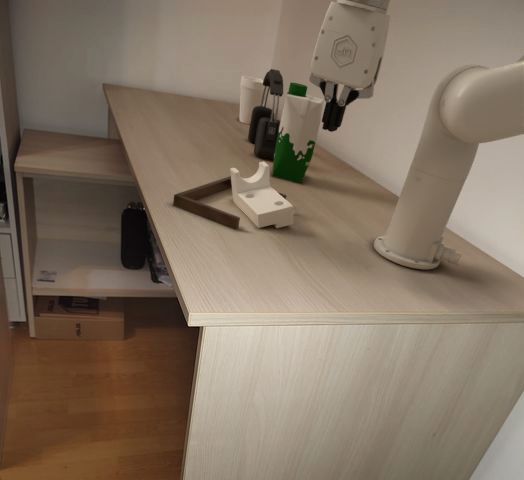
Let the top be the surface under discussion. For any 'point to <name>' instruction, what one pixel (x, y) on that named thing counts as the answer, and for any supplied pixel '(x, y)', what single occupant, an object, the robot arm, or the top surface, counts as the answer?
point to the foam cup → (250, 96)
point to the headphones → (266, 118)
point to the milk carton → (297, 133)
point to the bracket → (260, 199)
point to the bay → (188, 203)
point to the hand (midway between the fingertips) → (329, 129)
